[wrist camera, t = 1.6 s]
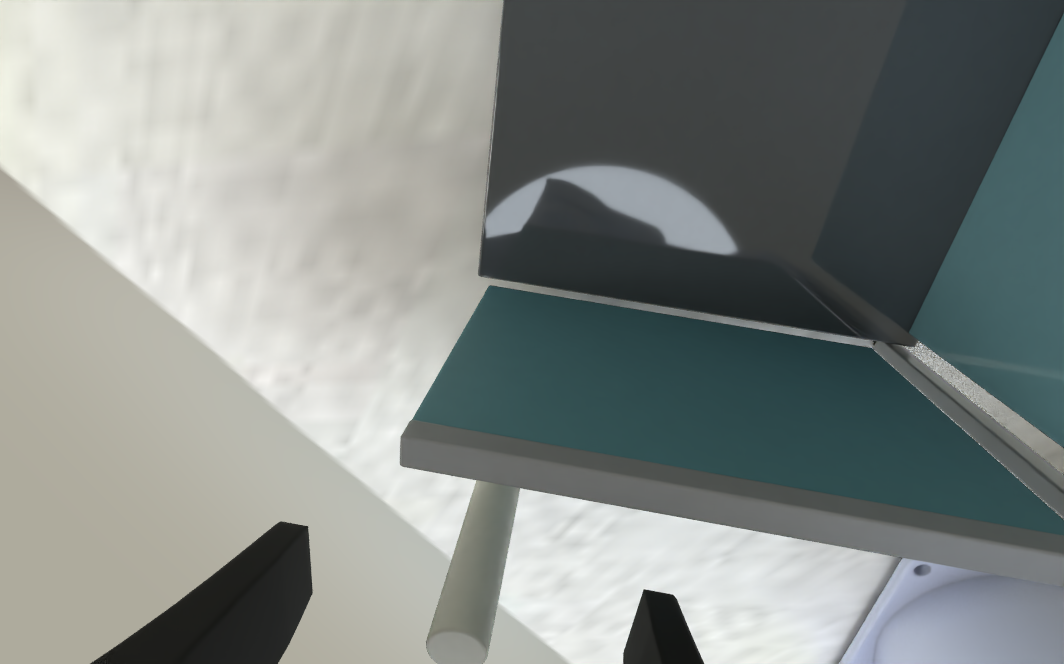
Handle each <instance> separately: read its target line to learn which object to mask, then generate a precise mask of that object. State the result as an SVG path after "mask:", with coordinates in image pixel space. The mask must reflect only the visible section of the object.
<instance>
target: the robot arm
mask: <svg viewBox="0 0 1064 664" xmlns="http://www.w3.org/2000/svg"><path fill="white" fill-rule="evenodd" d="M311 595H312V577H311V562H310V548H309V533H308V526H303V525H297V524H292V523H287V522H279V523H277V524H276V525H275V526H273V527H272V528H271V529H270V530H268V531H267V532H266V533H265V534H263V535H262V536H261V537H260V538H258V539H257V540H256V541H255V542H254V543H252V544H251V545H250V546H249V547H247V548H246V549H245V550H244V551H242V552H241V553H240V554H239V555H237V556H236V557H235V558H234V559H232V560H231V561H230V562H229V563H228V564H226V565H225V566H224V567H222V568H221V569H220V570H219V571H217V572H216V573H215V574H214V575H212V576H211V577H210V578H208V579H207V580H206V581H204V582H203V583H202V584H201V585H199V586H198V587H197V588H196V589H194V590H193V591H191V592H190V593H189V594H187V595H186V596H185V597H184V598H182V599H181V600H180V601H178V602H177V603H176V604H175V605H173V606H172V607H170V608H169V609H168V610H166V611H165V612H164V613H162V614H161V615H159V616H158V617H157V618H155V619H154V620H152V621H151V622H150V623H148V624H147V625H146V626H144V627H143V628H141V629H140V630H138V631H137V632H136V633H134V634H133V635H131V636H130V637H129V638H127V639H126V640H124V641H123V642H122V643H120V644H119V645H117V646H116V647H114V648H113V649H111V650H110V651H108V652H107V653H106V654H104V655H103V656H101V657H100V658H98V659H97V660H95V661H94V662H92V663H91V664H278V662H279V660H280V659H281V657H282V655H283V654H284V652H285V650H286V648H287V647H288V645H289V643H290V641H291V639H292V637H293V635H294V633H295V630H296V628H297V626H298V624H299V622H300V620H301V618H302V615H303V613H304V611H305V609H306V606H307V604H308V602H309V600H310V597H311ZM623 664H704V662H703V660H702V658H701V655H700V653H699V651H698V649H697V647H696V644H695V642H694V640H693V637H692V635H691V633H690V630H689V628H688V626H687V623H686V621H685V618H684V616H683V614H682V611H681V609H680V606H679V604H678V601H677V599H676V598H675V596H674V595H671V594H666V593H661V592H655V591H650V590H645V589H644V590H643V594H642V597H641V600H640V603H639V606H638V609H637V612H636V615H635V619H634V622H633V625H632V628H631V631H630V634H629V637H628V640H627V643H626V647H625V650H624V653H623ZM839 664H1064V587H1060V586H1055V585H1049V584H1044V583H1038V582H1033V581H1027V580H1022V579H1016V578H1011V577H1006V576H1000V575H995V574H989V573H984V572H978V571H973V570H967V569H962V568H956V567H951V566H945V565H940V564H934V563H929V562H923V561H918V560H912V559H907V558H902V559H901V561H900V563H899V564H898V566H897V568H896V569H895V571H894V573H893V574H892V576H891V578H890V579H889V581H888V583H887V584H886V586H885V588H884V589H883V591H882V593H881V594H880V596H879V598H878V599H877V601H876V603H875V604H874V606H873V608H872V609H871V611H870V613H869V614H868V616H867V618H866V619H865V621H864V623H863V624H862V626H861V628H860V629H859V631H858V633H857V634H856V636H855V638H854V639H853V641H852V643H851V644H850V646H849V648H848V649H847V651H846V653H845V654H844V656H843V658H842V659H841V661H840V663H839Z"/></svg>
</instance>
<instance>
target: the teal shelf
mask: <svg viewBox="0 0 1064 664" xmlns="http://www.w3.org/2000/svg"><path fill="white" fill-rule="evenodd" d="M400 465H401V466H403V467H408V468H413V469H419V470H424V471H429V472H435V473H440V474H446V475H451V476H457V477H462V478H468V479H473V480H477V481H476V484H475V487H474V490H473V493H472V497H471V500H470V503H469V506H468V509H467V512H466V516H465V519H464V522H463V525H462V528H461V532H460V535H459V538H458V541H457V544H456V548H455V551H454V554H453V557H452V560H451V564H450V567H449V570H448V573H447V576H446V580H445V583H444V586H443V589H442V592H441V596H440V599H439V602H438V605H437V608H436V612H435V615H434V618H433V621H432V625H431V628H430V631H429V634H428V637H427V641H426V646H427V647H426V648H427V652H428V654H429V655H430V656H431V658H432V659H433V660H434V661H435V662H436V663H438V664H483V663H484V662H485V660H486V659H487V656H488V651H489V646H490V640H491V636H492V630H493V625H494V620H495V615H496V610H497V605H498V600H499V594H500V589H501V584H502V579H503V574H504V569H505V563H506V558H507V553H508V548H509V543H510V538H511V533H512V527H513V522H514V517H515V512H516V507H517V502H518V496H519V491H520V488H523V489H528V490H534V491H539V492H545V493H550V494H556V495H561V496H567V497H572V498H578V499H583V500H589V501H594V502H600V503H605V504H611V505H616V506H621V507H627V508H632V509H638V510H643V511H649V512H654V513H660V514H665V515H671V516H676V517H682V518H687V519H693V520H698V521H704V522H709V523H715V524H720V525H726V526H731V527H737V528H742V529H748V530H753V531H759V532H764V533H770V534H775V535H781V536H786V537H792V538H797V539H803V540H808V541H813V542H819V543H824V544H830V545H835V546H841V547H846V548H852V549H857V550H863V551H868V552H874V553H879V554H885V555H890V556H896V557H901V558H907V559H912V560H918V561H923V562H929V563H934V564H940V565H945V566H951V567H956V568H962V569H967V570H973V571H978V572H984V573H989V574H995V575H1000V576H1006V577H1011V578H1016V579H1022V580H1027V581H1033V582H1038V583H1044V584H1049V585H1055V586H1060V587H1064V520H1063V519H1062V518H1061V517H1060V516H1059V515H1058V514H1056V513H1055V512H1054V511H1053V510H1052V509H1051V508H1050V507H1049V506H1047V505H1046V504H1045V503H1044V502H1043V501H1042V500H1041V499H1040V498H1039V497H1037V496H1036V495H1035V494H1034V493H1033V492H1032V491H1031V490H1030V489H1028V488H1027V487H1026V486H1025V485H1024V484H1023V483H1022V482H1021V481H1020V480H1018V479H1017V478H1016V477H1015V476H1014V475H1013V474H1012V473H1011V472H1009V471H1008V470H1007V469H1006V468H1005V467H1004V466H1003V465H1002V464H1001V463H999V462H998V461H997V460H996V459H995V458H994V457H993V456H992V455H990V454H989V453H988V452H987V451H986V450H985V449H984V448H983V447H982V446H980V445H979V444H978V443H977V442H976V441H975V440H974V439H973V438H971V437H970V436H969V435H968V434H967V433H966V432H965V431H964V430H962V429H961V428H960V427H959V426H958V425H957V424H956V423H955V422H954V421H952V420H951V419H950V418H949V417H948V416H947V415H946V414H945V413H943V412H942V411H941V410H940V409H939V408H938V407H937V406H936V405H935V404H933V403H932V402H931V401H930V400H929V399H928V398H927V397H926V396H924V395H923V394H922V393H921V392H920V391H919V390H918V389H917V388H916V387H914V386H913V385H912V384H911V383H910V382H909V381H908V380H907V379H905V378H904V377H903V376H902V375H901V374H900V373H899V372H898V371H897V370H895V369H894V368H893V367H892V366H891V365H890V364H889V363H888V362H886V361H885V360H884V359H883V358H882V357H881V356H880V355H879V354H877V353H876V352H875V351H874V350H873V349H872V348H868V347H862V346H856V345H850V344H844V343H838V342H832V341H826V340H820V339H813V338H807V337H801V336H795V335H789V334H783V333H777V332H771V331H765V330H759V329H753V328H746V327H740V326H734V325H728V324H722V323H716V322H710V321H704V320H698V319H692V318H686V317H679V316H673V315H667V314H661V313H655V312H649V311H643V310H637V309H631V308H625V307H619V306H612V305H606V304H600V303H594V302H588V301H582V300H576V299H570V298H564V297H558V296H551V295H545V294H539V293H533V292H527V291H521V290H515V289H509V288H503V287H497V286H489V287H488V289H487V290H486V292H485V294H484V296H483V297H482V299H481V301H480V303H479V304H478V306H477V308H476V309H475V311H474V313H473V315H472V316H471V318H470V320H469V322H468V323H467V325H466V327H465V329H464V330H463V332H462V334H461V336H460V337H459V339H458V341H457V343H456V344H455V346H454V348H453V349H452V351H451V353H450V355H449V356H448V358H447V360H446V362H445V363H444V365H443V367H442V369H441V370H440V372H439V374H438V376H437V377H436V379H435V381H434V383H433V384H432V386H431V388H430V390H429V391H428V393H427V395H426V396H425V398H424V400H423V402H422V403H421V405H420V407H419V409H418V410H417V412H416V414H415V416H414V417H413V419H412V420H411V421H410V422H409V424H408V425H407V427H406V429H405V431H404V432H403V434H402V436H401V444H400Z"/></svg>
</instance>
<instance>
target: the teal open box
mask: <svg viewBox="0 0 1064 664" xmlns="http://www.w3.org/2000/svg"><path fill="white" fill-rule="evenodd" d="M478 275H479V276H480V277H486V278H492V279H498V280H504V281H510V282H517V283H523V284H529V285H535V286H541V287H547V288H553V289H559V290H565V291H572V292H578V293H584V294H590V295H596V296H602V297H608V298H614V299H621V300H627V301H633V302H639V303H645V304H651V305H657V306H663V307H669V308H676V309H682V310H688V311H694V312H700V313H706V314H712V315H718V316H725V317H731V318H737V319H743V320H749V321H755V322H761V323H767V324H773V325H780V326H786V327H792V328H798V329H804V330H810V331H816V332H822V333H829V334H835V335H841V336H847V337H853V338H859V339H865V340H871V341H876V343H875V345H874V347H873V349H874V350H875V351H876V352H877V353H878V354H880V355H881V356H882V357H883V358H884V359H885V360H886V361H887V362H888V363H890V364H891V365H892V366H893V367H894V368H895V369H896V370H897V371H899V372H900V373H901V374H902V375H903V376H904V377H905V378H906V379H908V380H909V381H910V382H911V383H912V384H913V385H914V386H915V387H917V388H918V389H919V390H920V391H921V392H922V393H923V394H924V395H926V396H927V397H928V398H929V399H930V400H931V401H932V402H933V403H934V404H936V405H937V406H938V407H939V408H940V409H941V410H942V411H943V412H945V413H946V414H947V415H948V416H949V417H950V418H951V419H952V420H954V421H955V422H956V423H957V424H958V425H959V426H960V427H961V428H963V429H964V430H965V431H966V432H967V433H968V434H969V435H970V436H972V437H973V438H974V439H975V440H976V441H977V442H978V443H979V444H980V445H982V446H983V447H984V448H985V449H986V450H987V451H988V452H989V453H991V454H992V455H993V456H994V457H995V458H996V459H997V460H998V461H1000V462H1001V463H1002V464H1003V465H1004V466H1005V467H1006V468H1007V469H1009V470H1010V471H1011V472H1012V473H1013V474H1014V475H1015V476H1016V477H1018V478H1019V479H1020V480H1021V481H1022V482H1023V483H1024V484H1025V485H1026V486H1028V487H1029V488H1030V489H1031V490H1032V491H1033V492H1034V493H1035V494H1037V495H1038V496H1039V497H1040V498H1041V499H1042V500H1043V501H1044V502H1046V503H1047V504H1048V505H1049V506H1050V507H1051V508H1052V509H1053V510H1055V511H1056V512H1057V513H1058V514H1059V515H1060V516H1061V517H1062V518H1064V474H1062V473H1061V472H1060V471H1059V470H1057V469H1056V468H1055V467H1054V466H1052V465H1051V464H1050V463H1049V462H1047V461H1046V460H1045V459H1044V458H1042V457H1041V456H1040V455H1039V454H1037V453H1036V452H1035V451H1034V450H1032V449H1031V448H1030V447H1029V446H1027V445H1026V444H1025V443H1023V442H1022V441H1021V440H1020V439H1018V438H1017V437H1016V436H1015V435H1013V434H1012V433H1011V432H1010V431H1008V430H1007V429H1006V428H1005V427H1003V426H1002V425H1001V424H1000V423H998V422H997V421H996V420H995V419H993V418H992V417H991V416H990V415H988V414H987V413H986V412H985V411H983V410H982V409H981V408H980V407H978V406H977V405H976V404H975V403H973V402H972V401H971V400H970V399H968V398H967V397H966V396H965V395H963V394H962V393H961V392H960V391H958V390H957V389H956V388H954V387H953V386H952V385H951V384H949V383H948V382H947V381H946V380H944V379H943V378H942V377H941V376H939V375H938V374H937V373H936V372H934V371H933V370H932V369H931V368H929V367H928V366H927V365H926V364H924V363H923V362H922V361H921V360H919V359H918V358H917V357H916V356H914V355H913V354H912V353H911V352H909V351H908V350H907V349H906V348H904V347H903V346H908V347H915V346H916V344H917V342H918V341H920V342H921V343H922V344H924V345H925V346H927V347H928V348H929V349H931V350H932V351H933V352H935V353H936V354H937V355H939V356H940V357H941V358H943V359H944V360H945V361H947V362H948V363H950V364H951V365H952V366H954V367H955V368H956V369H958V370H959V371H960V372H962V373H963V374H964V375H966V376H967V377H968V378H970V379H971V380H972V381H974V382H975V383H977V384H978V385H979V386H981V387H982V388H983V389H985V390H986V391H987V392H989V393H990V394H991V395H993V396H994V397H995V398H997V399H998V400H999V401H1001V402H1002V403H1004V404H1005V405H1006V406H1008V407H1009V408H1010V409H1012V410H1013V411H1014V412H1016V413H1017V414H1018V415H1020V416H1021V417H1022V418H1024V419H1025V420H1026V421H1028V422H1029V423H1031V424H1032V425H1033V426H1035V427H1036V428H1037V429H1039V430H1040V431H1041V432H1043V433H1044V434H1045V435H1047V436H1048V437H1049V438H1051V439H1052V440H1053V441H1055V442H1056V443H1058V444H1059V445H1060V446H1062V447H1063V448H1064V0H503V9H502V20H501V31H500V42H499V52H498V63H497V74H496V85H495V96H494V107H493V117H492V128H491V139H490V150H489V161H488V171H487V182H486V193H485V204H484V215H483V226H482V236H481V247H480V258H479V269H478Z"/></svg>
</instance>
